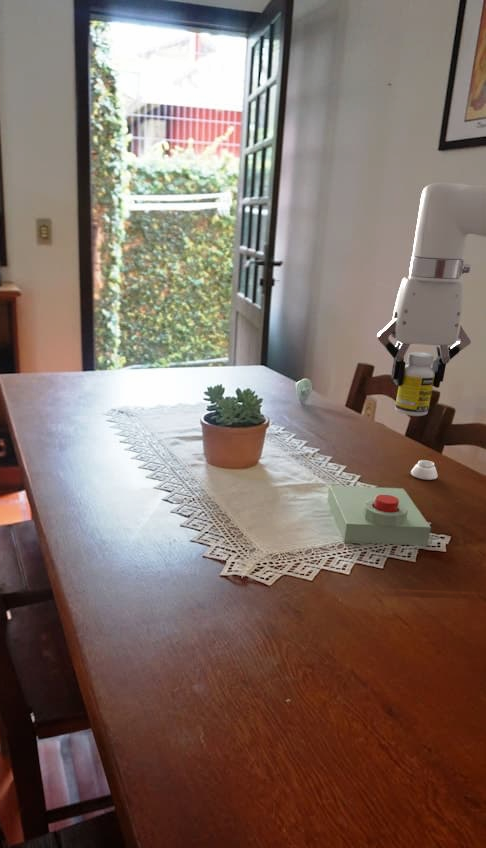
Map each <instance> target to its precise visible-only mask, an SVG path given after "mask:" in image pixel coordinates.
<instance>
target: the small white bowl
mask: <svg viewBox="0 0 486 848" xmlns="http://www.w3.org/2000/svg"><path fill="white" fill-rule="evenodd" d="M410 474H411V476H412V477H414V478H416V479H419V480H425V481H431V480H436V479H437V478H438V476H439V475H438V472H437V467H436V466H435V462H434V461H431V460H425V459H420V460H418V462H417V463H416V464H414V466H413V468H412V469H411V471H410Z"/></svg>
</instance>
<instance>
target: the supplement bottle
mask: <svg viewBox="0 0 486 848" xmlns="http://www.w3.org/2000/svg"><path fill="white" fill-rule="evenodd" d="M434 358H435V356H434V355H433V354H431V353H427V352H421V351H414V352H413V351H411V352H408V356H407V364H405V370H404V376H403V383H402V385H401V386H397V387H398V388H397V394H396V400H395V406H394V409H395V411H396V412H397V413H399V414H401V415H405V416H412V417H422V416H426V415H427V414H428V412H429V408H430V402H431V397H432V393H433V388H434V386H433V382H434V377H435V371H434V370H433V369H432V366H433V361H434Z"/></svg>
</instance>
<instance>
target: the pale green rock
mask: <svg viewBox="0 0 486 848" xmlns="http://www.w3.org/2000/svg"><path fill="white" fill-rule="evenodd" d="M294 386H295V393H296V398H297V400H298V402H299V403H300V404H305V403H307V402H308V400H309V399H310V398H311V395H312V393H313V389H314V387H313V382H312V381H311V380H310V379H309V378H302V379H301V380H298V381H295V382H294Z"/></svg>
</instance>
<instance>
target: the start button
mask: <svg viewBox="0 0 486 848" xmlns="http://www.w3.org/2000/svg"><path fill="white" fill-rule="evenodd" d="M398 504H399V499H398V498H396V497H394V496H390V495H378V496H376V497H375V503H374V508H375V509H376V510H378V511H382V512H390V513H393V512H397V510H398Z"/></svg>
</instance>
